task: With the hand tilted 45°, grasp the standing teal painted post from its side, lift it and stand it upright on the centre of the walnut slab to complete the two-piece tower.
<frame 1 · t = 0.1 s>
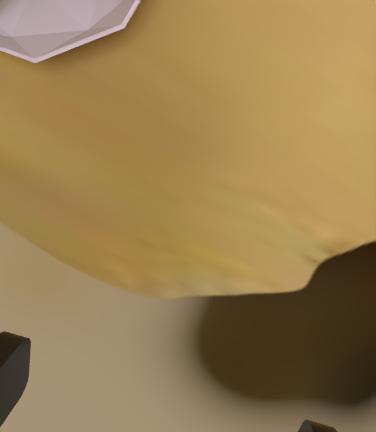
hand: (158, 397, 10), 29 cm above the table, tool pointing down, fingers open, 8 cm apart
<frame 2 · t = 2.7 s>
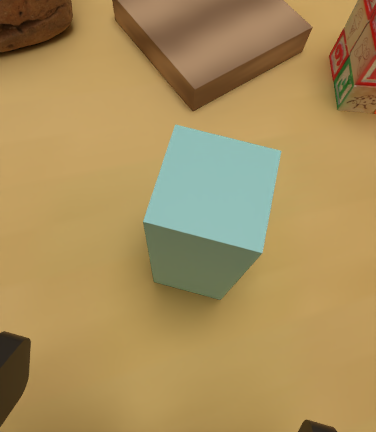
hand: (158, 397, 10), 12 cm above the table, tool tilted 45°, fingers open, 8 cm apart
slab: (207, 40, 32), on the table
post: (195, 258, 24), on the table
block: (12, 28, 31), on the table
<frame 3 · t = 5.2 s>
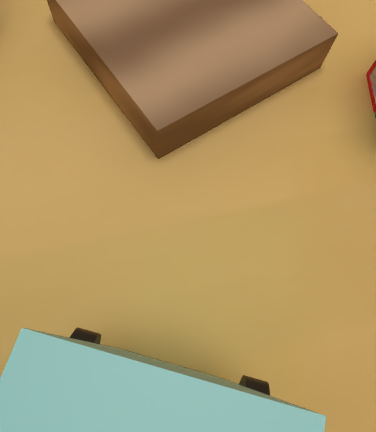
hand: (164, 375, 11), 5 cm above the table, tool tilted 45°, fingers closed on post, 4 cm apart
slab: (185, 50, 23), on the table
post: (152, 420, 14), on the table, touching gripper
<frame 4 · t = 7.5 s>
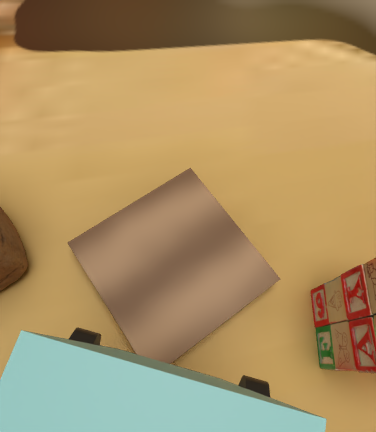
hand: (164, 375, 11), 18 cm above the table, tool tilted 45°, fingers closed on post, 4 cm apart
slab: (173, 269, 31), on the table
post: (152, 421, 14), point 13 cm above the table, touching gripper
when the fingers open (9 cm above the table, at t = 10.2 s): post drops 2 cm, resting on slab.
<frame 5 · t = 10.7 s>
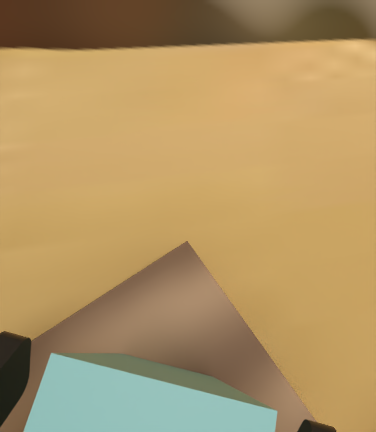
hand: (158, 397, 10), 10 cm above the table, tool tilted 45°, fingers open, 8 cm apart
slab: (155, 405, 19), on the table, touching post
post: (154, 416, 16), point 2 cm above the table, touching slab
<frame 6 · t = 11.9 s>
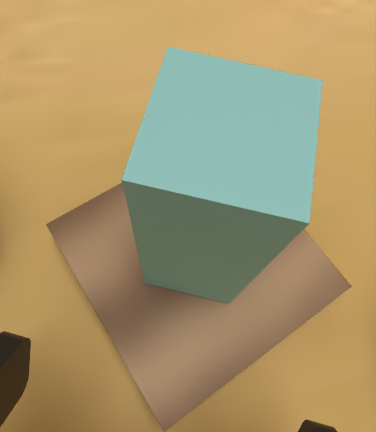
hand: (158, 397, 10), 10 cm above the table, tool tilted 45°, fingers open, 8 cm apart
slab: (193, 267, 22), on the table
post: (195, 253, 19), point 2 cm above the table
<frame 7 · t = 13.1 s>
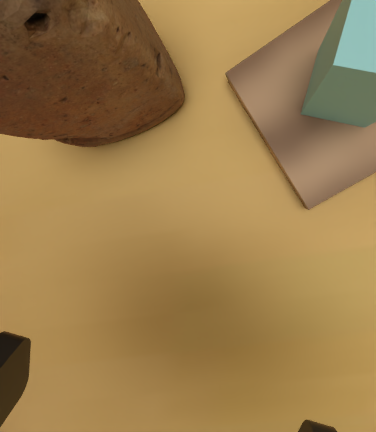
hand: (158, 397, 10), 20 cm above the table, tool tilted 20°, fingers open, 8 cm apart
slab: (333, 103, 28), on the table, touching post
post: (341, 89, 25), point 2 cm above the table, touching slab
block: (126, 99, 31), on the table
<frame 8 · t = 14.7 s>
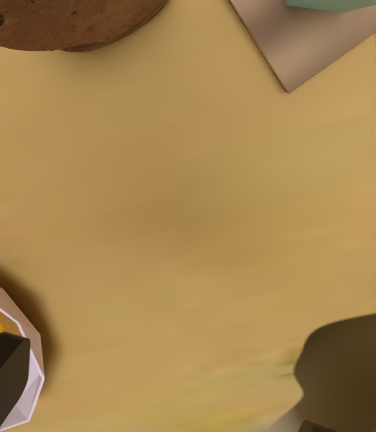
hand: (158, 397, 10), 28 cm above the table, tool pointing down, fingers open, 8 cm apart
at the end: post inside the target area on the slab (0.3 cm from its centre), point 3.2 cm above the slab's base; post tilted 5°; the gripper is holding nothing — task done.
